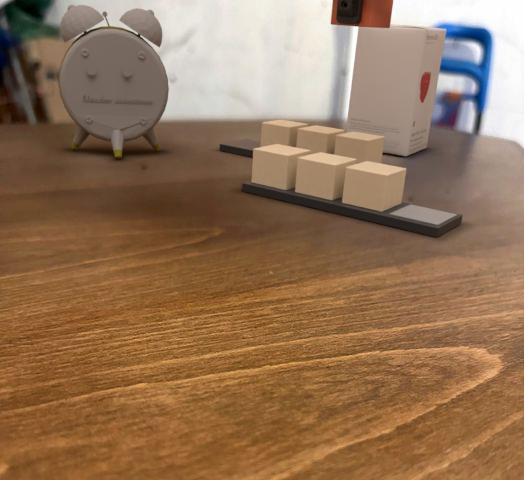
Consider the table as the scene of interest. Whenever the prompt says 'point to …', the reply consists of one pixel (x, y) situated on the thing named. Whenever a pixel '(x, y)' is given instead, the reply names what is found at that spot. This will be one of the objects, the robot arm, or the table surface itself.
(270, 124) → the left rack
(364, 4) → the orange block
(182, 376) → the table surface
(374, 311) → the table surface
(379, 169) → the right rack
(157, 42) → the alarm clock
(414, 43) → the white product box
